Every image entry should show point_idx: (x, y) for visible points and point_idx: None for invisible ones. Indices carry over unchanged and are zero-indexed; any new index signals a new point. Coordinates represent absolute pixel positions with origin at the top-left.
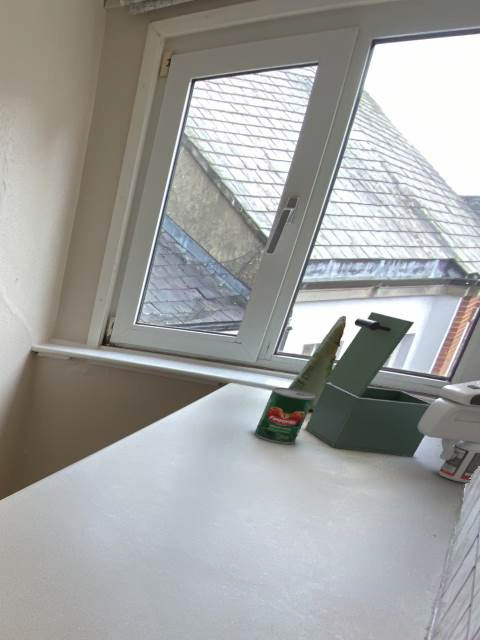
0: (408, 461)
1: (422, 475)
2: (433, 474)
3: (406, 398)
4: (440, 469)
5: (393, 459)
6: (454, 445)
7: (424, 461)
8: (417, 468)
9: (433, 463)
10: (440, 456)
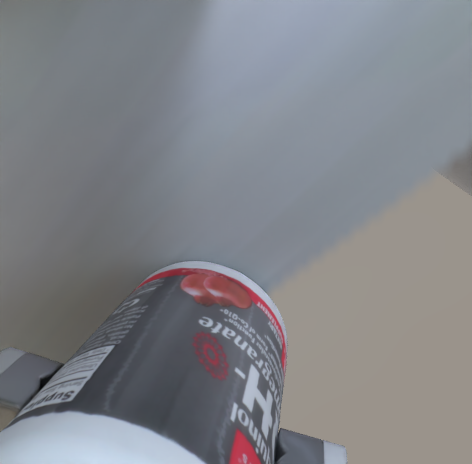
0: (108, 70)
1: (30, 302)
2: (109, 286)
3: None
4: (138, 286)
5: (16, 46)
6: (14, 419)
7: (253, 42)
8: (77, 202)
9: (297, 80)
10: (6, 354)
